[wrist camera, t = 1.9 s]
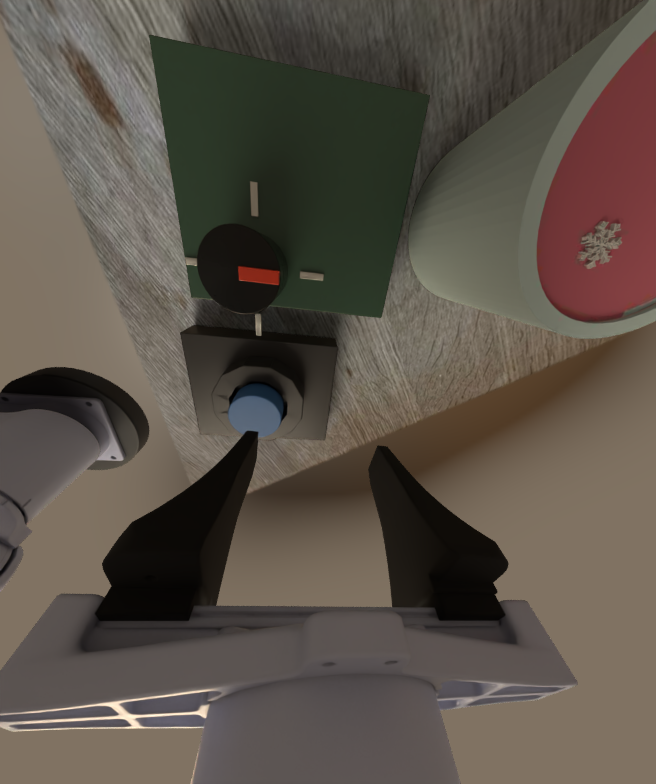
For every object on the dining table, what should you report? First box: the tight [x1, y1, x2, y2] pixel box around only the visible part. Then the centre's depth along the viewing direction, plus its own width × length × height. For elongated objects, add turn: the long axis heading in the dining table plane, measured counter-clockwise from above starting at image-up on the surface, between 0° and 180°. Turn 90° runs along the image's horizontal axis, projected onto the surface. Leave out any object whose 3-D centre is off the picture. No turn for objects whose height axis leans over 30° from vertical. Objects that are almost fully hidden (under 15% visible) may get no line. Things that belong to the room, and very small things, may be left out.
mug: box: [408, 0, 656, 339], centre depth 11 cm, size 14×9×10 cm
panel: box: [149, 35, 430, 336], centre depth 14 cm, size 12×12×3 cm
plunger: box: [228, 383, 284, 437], centre depth 17 cm, size 4×4×2 cm
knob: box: [197, 223, 288, 314], centre depth 12 cm, size 4×4×4 cm
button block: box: [180, 325, 338, 441], centre depth 19 cm, size 11×9×4 cm
